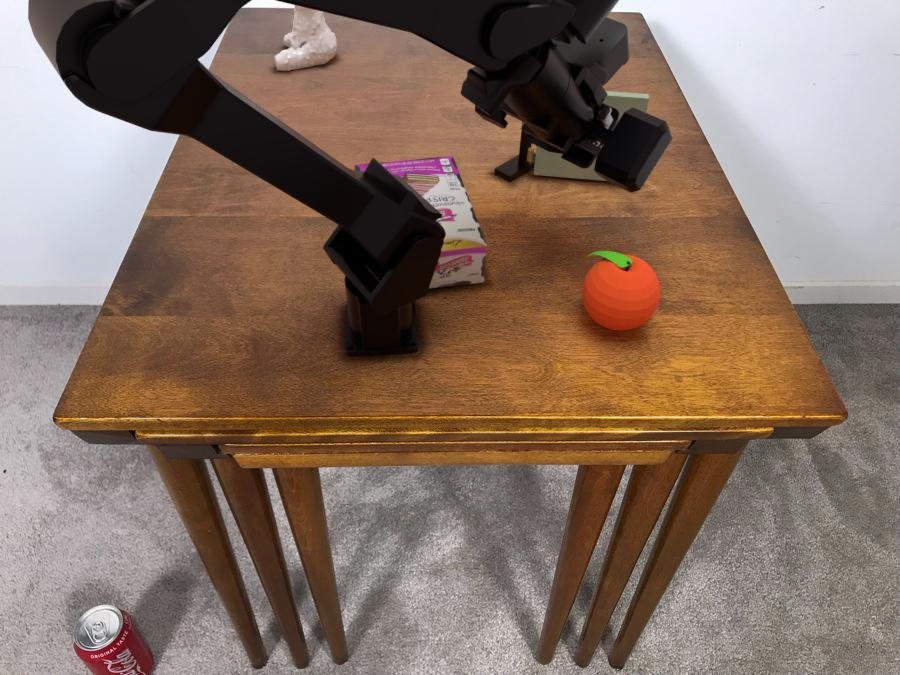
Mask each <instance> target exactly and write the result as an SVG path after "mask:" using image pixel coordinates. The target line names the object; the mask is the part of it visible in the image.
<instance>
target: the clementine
mask: <svg viewBox="0 0 900 675" xmlns="http://www.w3.org/2000/svg"><path fill="white" fill-rule="evenodd" d="M590 256H598V257H603V259H601V260H599V261H597V262H596V263H595V264H594V265H592V267H591V268H590V269H589V270H588V271H587V273H586V276H585V278H584V280H583V283H582V296H581V298H582V299H581V300H582V302H583V305H584V308H585V310H586V313H587V314H588V315H589V316H590V318H591V319H592V320H593V321H594V322H596V323H597V324H598V325H599V326H601V327H603V328H605V329H609V330H612V331H628V330H631V329H635V328H638V327H639V326H642V325H643V324H645V323H646V322H647V321H648V320H649V319H651V317H652V316H653V315H654V314H655V312H656V310H657V308H658V306H659V302H660V300H661V299H660V298H661V285H660V281H659V277H658V276H657V274H656V272H655V271H654V269H653V268H652V267H651V265H650V264H649V263H648V262H646V261H645V260H643V259H641V258H639V257H637V256H635V255H631V254H623V253H621V252H616V251H611V250H596V251H594V252H592V253H590V254H588V255H587V256H586V257H585V258H584V259H583V260H582V261H583V262H584V261H585V260H586V259H587V258H588V257H590Z"/></svg>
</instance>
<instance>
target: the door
mask: <svg viewBox="0 0 900 675" xmlns="http://www.w3.org/2000/svg"><path fill="white" fill-rule="evenodd" d="M605 91H606V92H607V94H608V95H607V96H606V98H605V100H604V101H603V103H604V104H606V105H608V106H611V107H613V108H615V109H617V110H618V111H619V119H618V122H619V120H620V118H621V117H622V115H623V113H624V112H625V111H627V110H629V109H631V108H632V107H634V108H636V109H638V110H641V111H643V112H645V113H648V112H647V111H648V107H649V102H650V94H649V93H637V92H636V93H635V92H625V91H613V90H611V91H610V90H605ZM618 122H617V123H618ZM616 125H617V124H616ZM613 130H614V129H613ZM603 146H604V145H603ZM535 154H536V157H535V165H534V168H533V175H534V176H544V177H555V178H565V179H566V178H567V179H579V180H589V181H603V182H608V181H607V180H605V179H604V178H602V177H601V176H599V175H598V174H597V173H596V172H595V171H594V167H595V162H596V158H595V160H594V162H593V163H592V165H591V166H590V167H589V168H586V169H584V168H580V167H578V166H576V165H574V164H572V163H570V162H568V161H566V160H564V159H562V158H561V156H562V155H563V154H560V153H553V152H548V151H546V150H544V149H542V148H540V147H538V146H536V149H535Z"/></svg>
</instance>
